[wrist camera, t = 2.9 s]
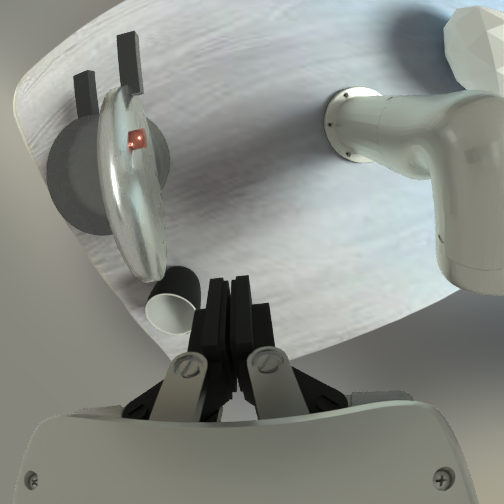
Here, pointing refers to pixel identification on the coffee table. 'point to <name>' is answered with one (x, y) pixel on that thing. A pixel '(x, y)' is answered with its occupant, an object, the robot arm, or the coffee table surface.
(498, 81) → the geometric polyhedron
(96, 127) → the pot
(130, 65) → the lid
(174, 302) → the mug
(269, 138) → the coffee table surface
